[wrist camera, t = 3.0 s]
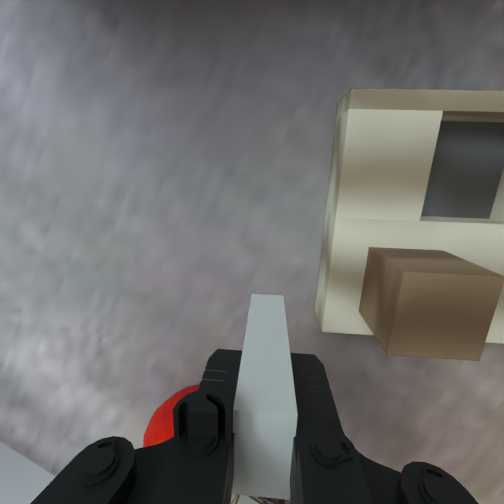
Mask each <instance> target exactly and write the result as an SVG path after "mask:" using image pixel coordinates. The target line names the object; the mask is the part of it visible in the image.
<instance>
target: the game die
mask: <svg viewBox="0 0 504 504" xmlns="http://www.w3.org/2000/svg"><path fill="white" fill-rule="evenodd" d="M232 504H277V503H275V502H272V501H270V500H267V499H265V498H262V497H255V496H245V495H237V496H236V497H235V499H234V500H233V502H232ZM279 504H285V499H280V501H279Z"/></svg>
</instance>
